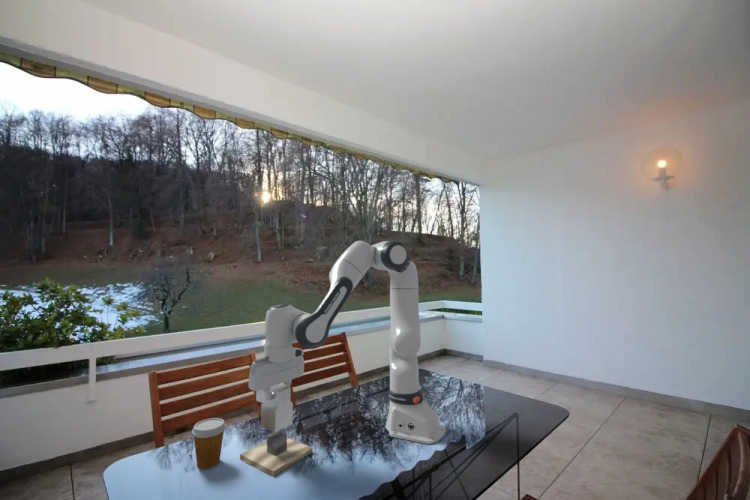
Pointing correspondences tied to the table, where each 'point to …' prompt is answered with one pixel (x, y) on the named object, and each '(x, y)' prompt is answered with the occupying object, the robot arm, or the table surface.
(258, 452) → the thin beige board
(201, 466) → the disposable coffee cup
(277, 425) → the grey stepped block
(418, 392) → the robot arm
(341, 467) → the table surface
